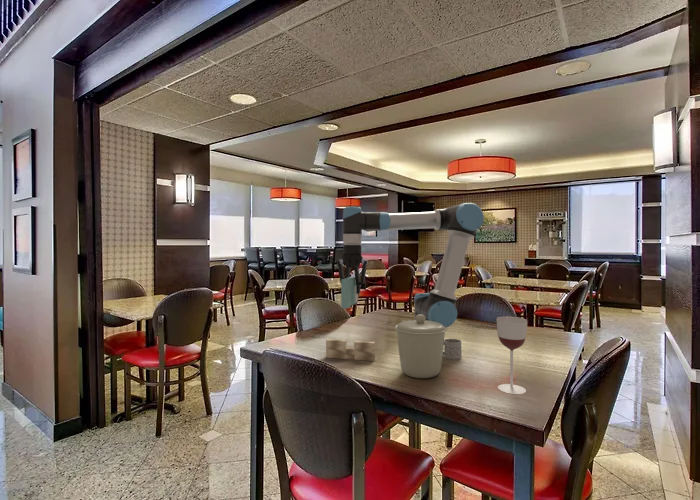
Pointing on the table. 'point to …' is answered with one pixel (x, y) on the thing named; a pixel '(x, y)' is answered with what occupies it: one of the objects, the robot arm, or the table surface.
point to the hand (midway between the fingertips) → (352, 301)
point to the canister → (420, 346)
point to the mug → (452, 349)
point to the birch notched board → (350, 350)
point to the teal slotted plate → (347, 292)
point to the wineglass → (511, 345)
